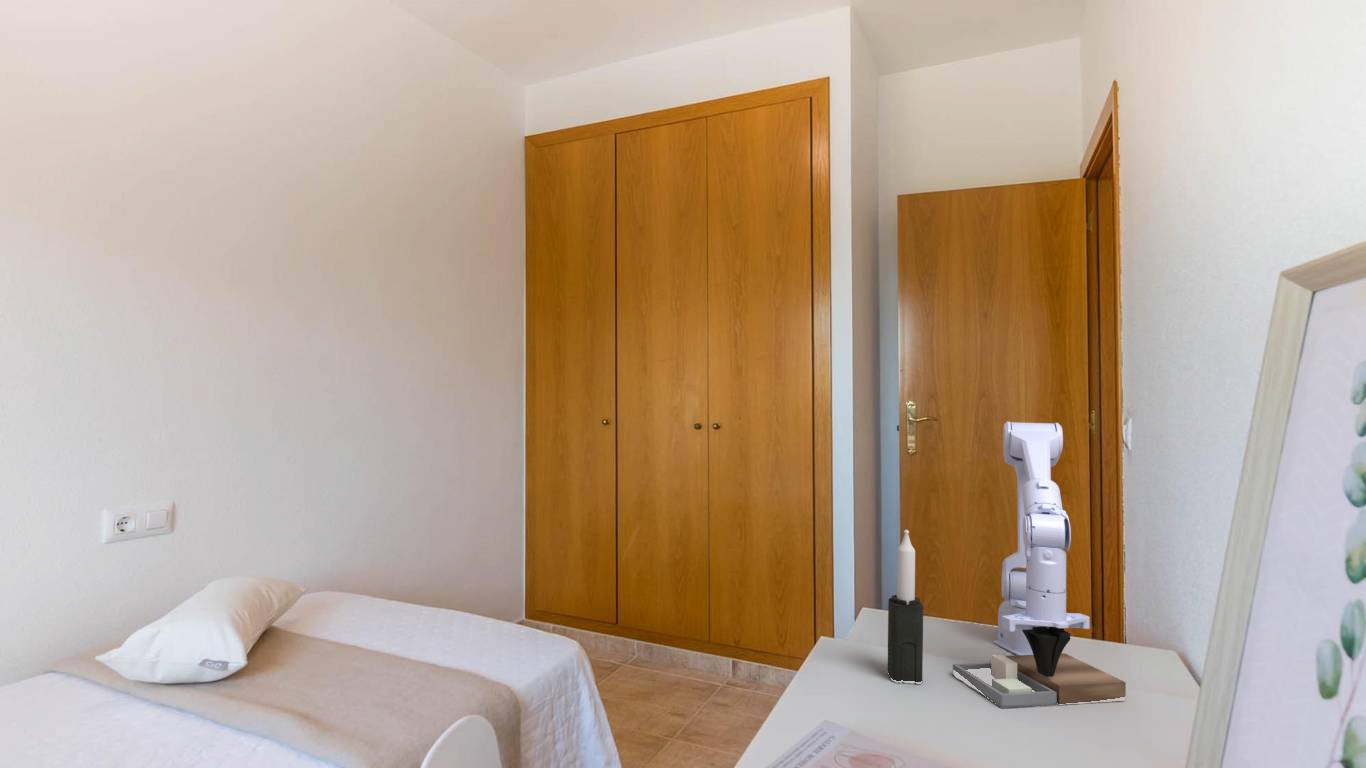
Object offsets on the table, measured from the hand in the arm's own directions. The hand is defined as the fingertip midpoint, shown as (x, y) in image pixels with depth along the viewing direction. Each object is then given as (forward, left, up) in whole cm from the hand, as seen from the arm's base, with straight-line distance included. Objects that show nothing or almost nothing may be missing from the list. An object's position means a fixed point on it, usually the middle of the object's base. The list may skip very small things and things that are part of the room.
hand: (1045, 674), depth 108 cm
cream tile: (-5, -3, -1) cm, 6 cm away
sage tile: (0, -6, -1) cm, 6 cm away
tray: (-4, -5, -4) cm, 7 cm away
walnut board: (-4, +6, -4) cm, 8 cm away
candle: (-10, -19, -4) cm, 22 cm away
